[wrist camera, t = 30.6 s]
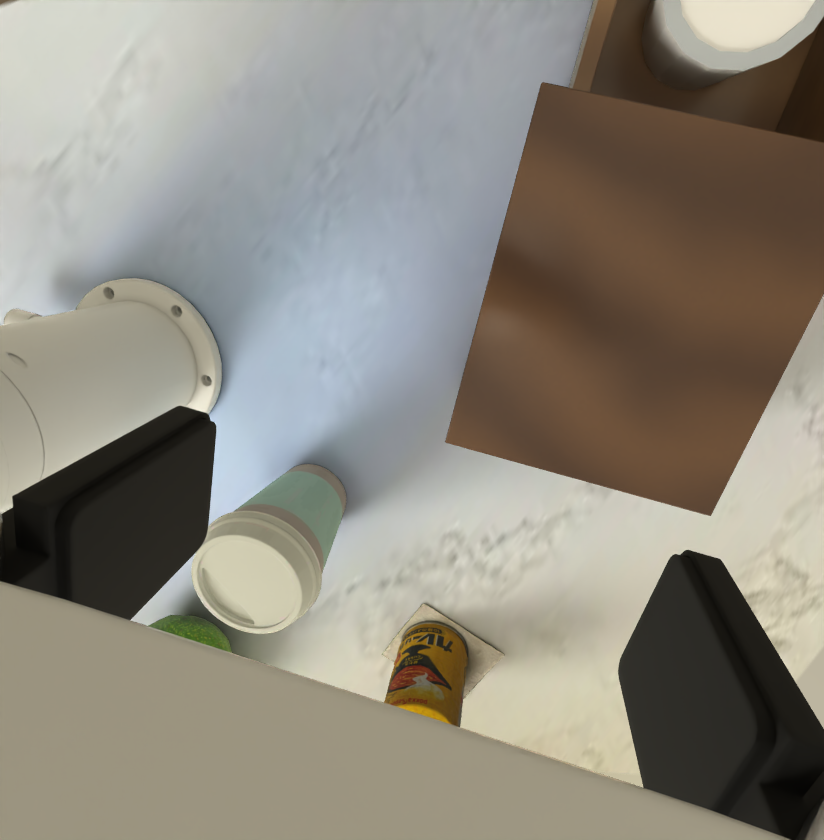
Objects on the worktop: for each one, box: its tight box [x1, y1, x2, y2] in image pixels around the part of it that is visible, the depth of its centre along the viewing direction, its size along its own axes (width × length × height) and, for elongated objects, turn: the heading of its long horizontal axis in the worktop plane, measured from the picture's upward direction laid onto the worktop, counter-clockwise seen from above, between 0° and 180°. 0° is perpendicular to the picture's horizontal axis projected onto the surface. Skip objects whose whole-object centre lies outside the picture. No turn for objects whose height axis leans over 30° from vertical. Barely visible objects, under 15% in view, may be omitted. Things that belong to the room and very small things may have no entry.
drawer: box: [569, 0, 824, 142], centre depth 25 cm, size 22×14×8 cm, turn 167°
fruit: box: [149, 615, 232, 653], centre depth 49 cm, size 15×10×10 cm, turn 147°
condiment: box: [382, 604, 504, 727], centre depth 42 cm, size 7×8×12 cm
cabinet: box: [445, 82, 824, 516], centre depth 31 cm, size 18×15×10 cm
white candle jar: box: [641, 0, 824, 90], centre depth 25 cm, size 7×7×7 cm
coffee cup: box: [191, 464, 346, 634], centre depth 39 cm, size 8×8×12 cm
